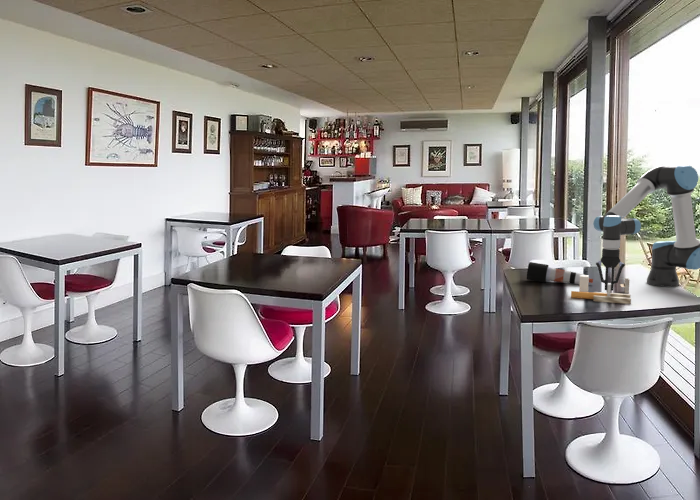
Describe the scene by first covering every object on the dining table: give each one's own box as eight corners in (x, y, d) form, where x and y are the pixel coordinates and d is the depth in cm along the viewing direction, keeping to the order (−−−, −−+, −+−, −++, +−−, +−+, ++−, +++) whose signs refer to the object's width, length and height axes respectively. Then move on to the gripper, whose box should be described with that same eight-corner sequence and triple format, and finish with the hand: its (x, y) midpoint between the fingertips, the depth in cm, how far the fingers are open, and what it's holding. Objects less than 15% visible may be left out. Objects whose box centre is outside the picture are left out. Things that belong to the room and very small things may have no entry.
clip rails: (630, 299, 277) (630, 294, 277) (630, 303, 268) (631, 298, 268) (593, 296, 284) (594, 291, 284) (593, 301, 275) (593, 296, 274)
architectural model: (621, 294, 290) (622, 279, 289) (619, 291, 297) (620, 276, 295) (628, 294, 289) (629, 279, 288) (626, 291, 296) (627, 277, 294)
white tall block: (588, 292, 292) (588, 275, 291) (587, 294, 289) (588, 276, 287) (579, 292, 294) (580, 274, 293) (579, 293, 290) (579, 276, 289)
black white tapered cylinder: (590, 293, 309) (593, 279, 303) (526, 283, 322) (527, 269, 316) (592, 282, 316) (594, 268, 310) (529, 272, 329) (530, 258, 323)
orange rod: (606, 296, 278) (607, 292, 276) (606, 301, 276) (606, 297, 274) (571, 294, 285) (571, 289, 283) (571, 298, 283) (571, 294, 280)
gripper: (626, 247, 274) (623, 296, 277) (596, 246, 279) (593, 294, 282) (626, 250, 267) (623, 299, 270) (595, 248, 272) (593, 297, 276)
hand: (608, 296), depth 276 cm, fingers closed
